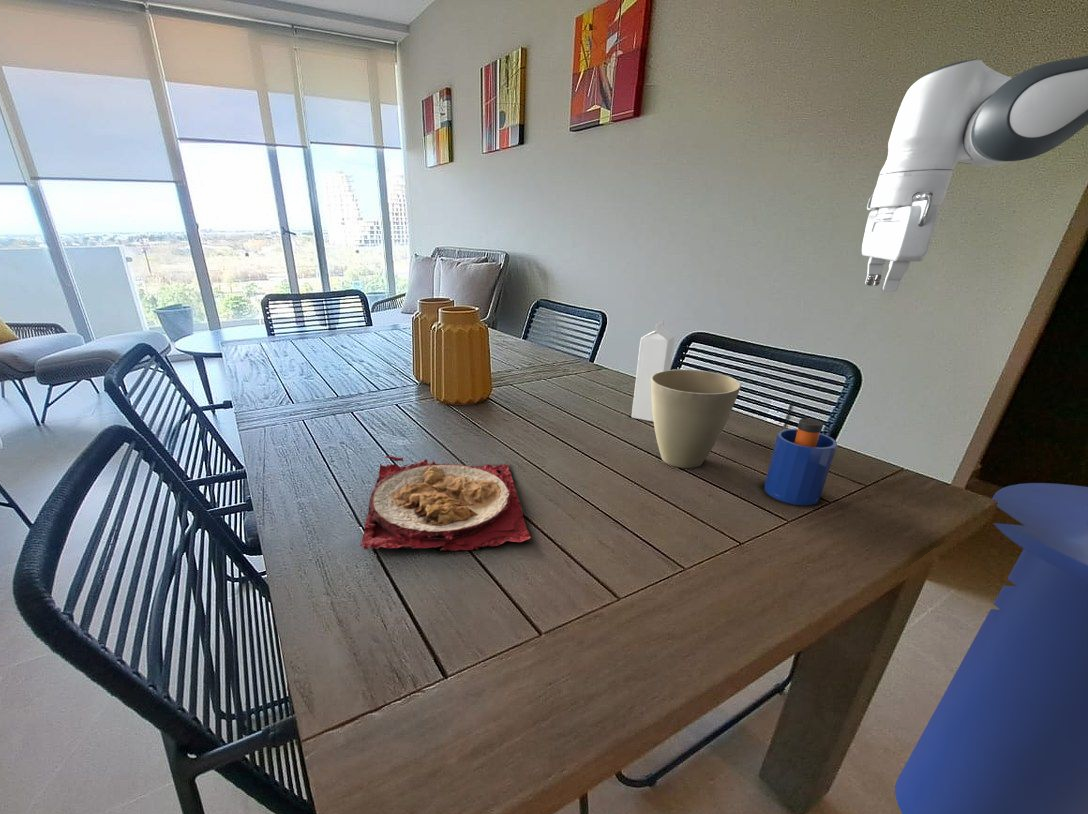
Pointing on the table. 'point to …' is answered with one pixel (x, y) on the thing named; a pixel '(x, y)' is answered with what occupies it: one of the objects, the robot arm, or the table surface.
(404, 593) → the table surface
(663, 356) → the milk
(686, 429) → the plant pot
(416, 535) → the plate with food
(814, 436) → the orange tube bottle
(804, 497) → the cup
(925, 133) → the robot arm
